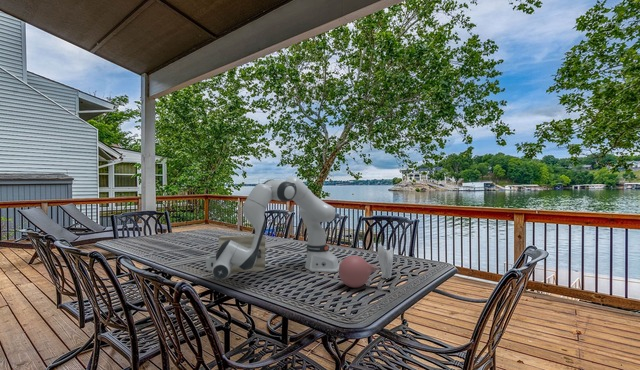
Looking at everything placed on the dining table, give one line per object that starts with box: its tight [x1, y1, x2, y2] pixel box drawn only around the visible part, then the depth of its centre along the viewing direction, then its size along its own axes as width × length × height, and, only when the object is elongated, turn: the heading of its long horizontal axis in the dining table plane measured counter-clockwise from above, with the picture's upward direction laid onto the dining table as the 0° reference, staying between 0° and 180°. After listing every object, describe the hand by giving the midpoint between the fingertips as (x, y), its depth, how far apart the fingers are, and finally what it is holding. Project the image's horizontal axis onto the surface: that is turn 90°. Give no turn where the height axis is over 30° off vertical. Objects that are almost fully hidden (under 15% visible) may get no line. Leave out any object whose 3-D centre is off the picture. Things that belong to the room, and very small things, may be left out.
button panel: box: [218, 234, 266, 273], centre depth 181 cm, size 13×26×20 cm, turn 101°
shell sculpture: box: [377, 244, 394, 280], centre depth 165 cm, size 8×8×18 cm
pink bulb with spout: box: [338, 254, 380, 289], centre depth 150 cm, size 15×20×15 cm
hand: (227, 257), depth 169 cm, fingers closed
